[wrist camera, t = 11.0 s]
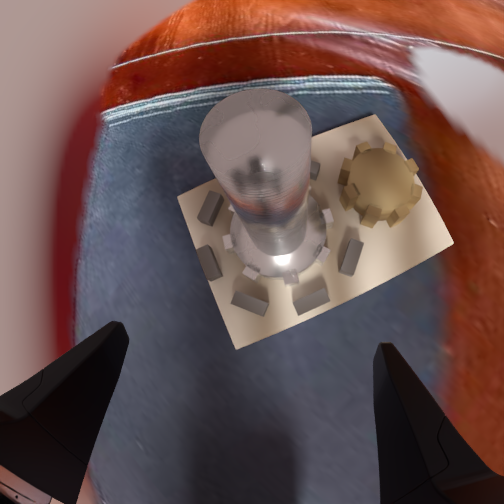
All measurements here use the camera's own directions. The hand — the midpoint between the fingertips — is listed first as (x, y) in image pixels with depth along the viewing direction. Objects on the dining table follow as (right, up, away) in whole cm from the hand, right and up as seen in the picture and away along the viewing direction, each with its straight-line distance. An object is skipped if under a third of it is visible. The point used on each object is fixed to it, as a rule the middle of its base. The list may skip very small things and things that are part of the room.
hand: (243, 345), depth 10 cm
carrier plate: (+5, +5, +14) cm, 16 cm away
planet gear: (+2, +4, +14) cm, 14 cm away
